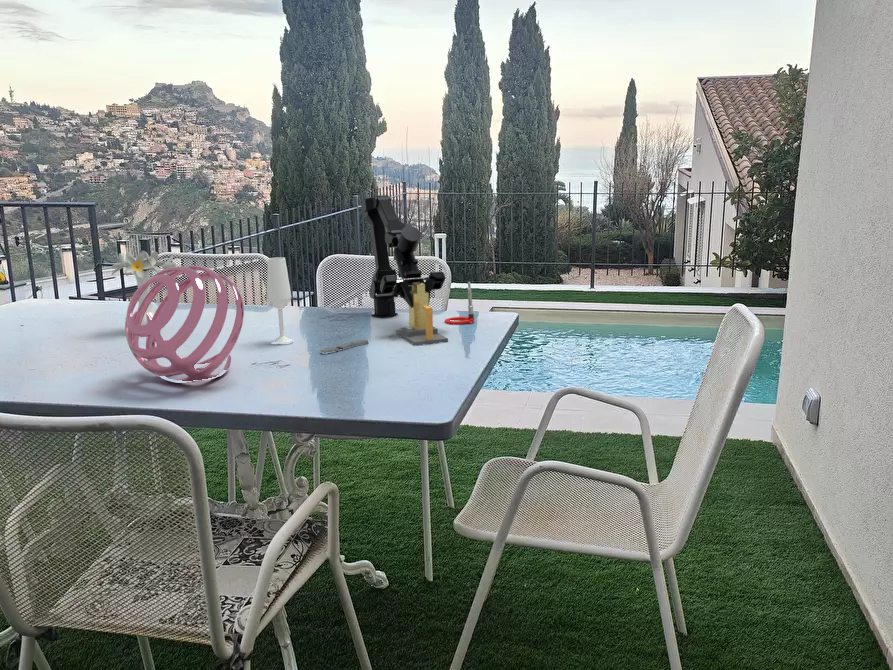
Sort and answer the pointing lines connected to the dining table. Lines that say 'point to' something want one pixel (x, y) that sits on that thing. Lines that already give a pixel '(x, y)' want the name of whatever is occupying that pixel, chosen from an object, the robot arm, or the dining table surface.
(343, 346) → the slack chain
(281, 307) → the champagne flute
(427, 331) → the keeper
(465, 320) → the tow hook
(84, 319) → the dining table surface
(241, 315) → the pink lattice ball
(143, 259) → the flower vase
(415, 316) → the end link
